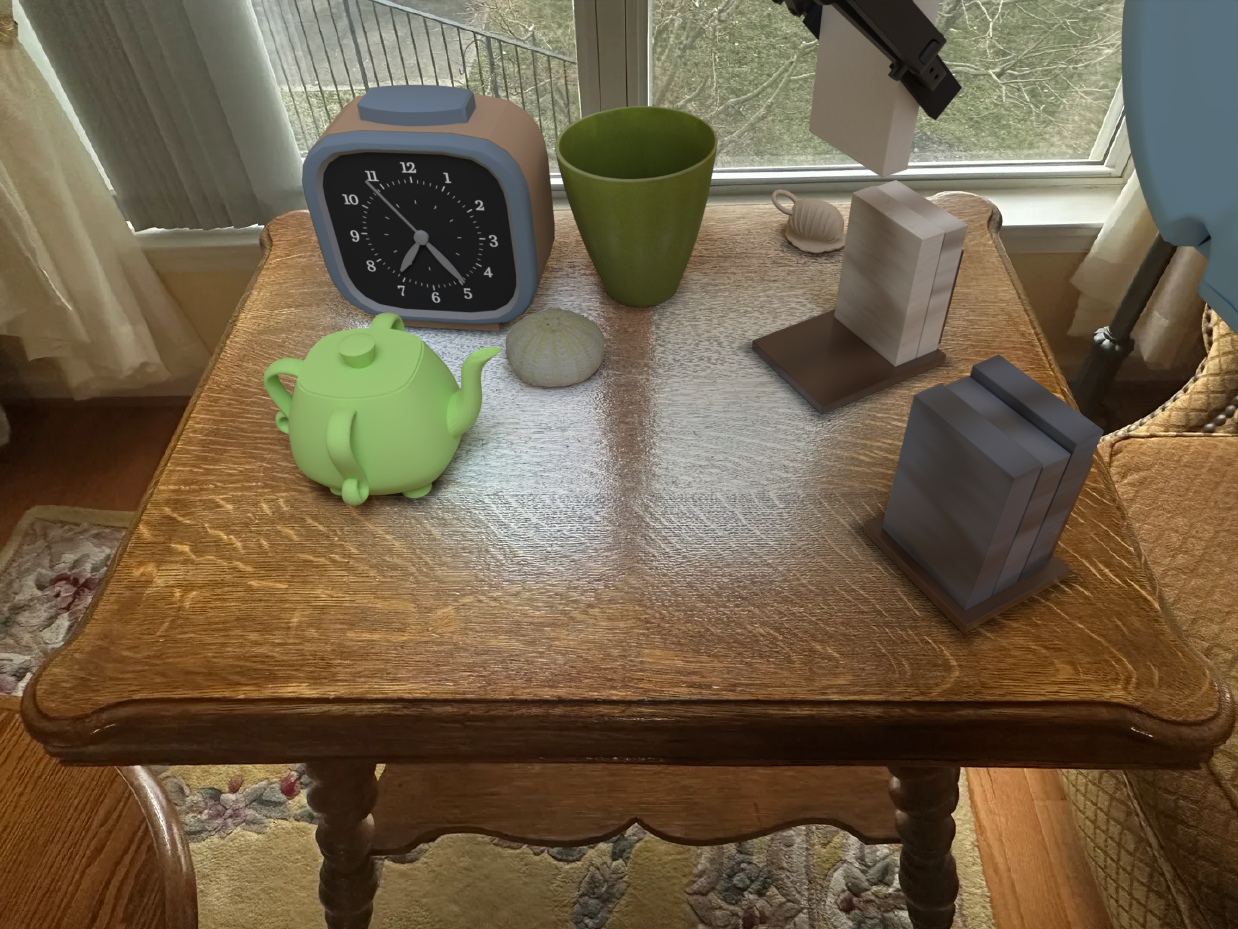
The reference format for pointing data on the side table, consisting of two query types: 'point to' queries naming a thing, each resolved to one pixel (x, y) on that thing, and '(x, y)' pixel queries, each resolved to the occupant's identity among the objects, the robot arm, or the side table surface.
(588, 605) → the side table surface
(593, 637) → the side table surface
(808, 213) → the decorative ornament
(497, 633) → the side table surface
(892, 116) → the white book
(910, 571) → the grey rack
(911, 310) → the beige and brown bookend
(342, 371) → the teapot
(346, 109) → the alarm clock
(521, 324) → the sea urchin shell
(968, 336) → the side table surface
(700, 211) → the flower pot
